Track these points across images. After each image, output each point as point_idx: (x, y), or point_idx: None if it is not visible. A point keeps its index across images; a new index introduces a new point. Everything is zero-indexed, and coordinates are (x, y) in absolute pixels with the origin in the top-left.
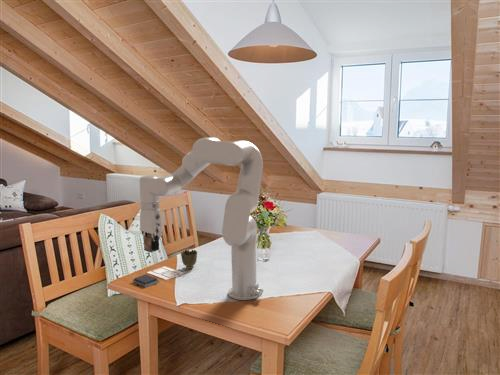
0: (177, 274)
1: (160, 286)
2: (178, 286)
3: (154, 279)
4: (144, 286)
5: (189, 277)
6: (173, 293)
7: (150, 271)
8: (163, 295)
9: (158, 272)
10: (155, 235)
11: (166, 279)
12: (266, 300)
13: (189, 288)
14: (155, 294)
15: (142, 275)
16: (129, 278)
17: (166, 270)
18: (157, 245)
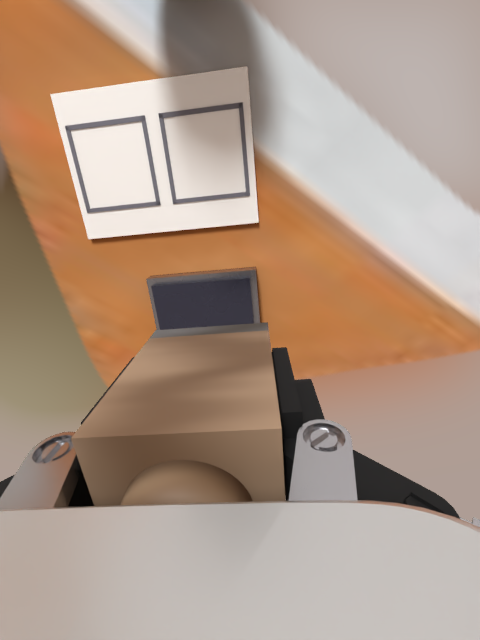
0: (242, 123)
1: (304, 289)
2: (380, 226)
3: (250, 294)
4: None
5: (329, 86)
6: (424, 294)
7: (88, 216)
8: (401, 336)
9: (131, 191)
10: (196, 445)
11: (258, 220)
12: None
13: (453, 199)
14: (362, 352)
15: (156, 307)
16: (109, 334)
17: (130, 132)
18: (316, 400)
